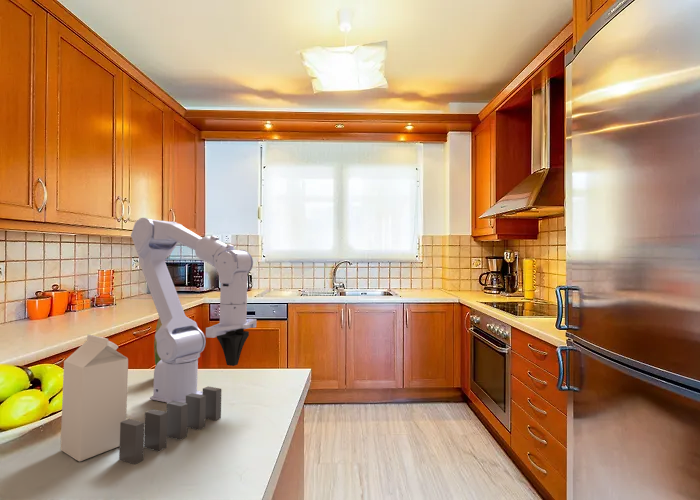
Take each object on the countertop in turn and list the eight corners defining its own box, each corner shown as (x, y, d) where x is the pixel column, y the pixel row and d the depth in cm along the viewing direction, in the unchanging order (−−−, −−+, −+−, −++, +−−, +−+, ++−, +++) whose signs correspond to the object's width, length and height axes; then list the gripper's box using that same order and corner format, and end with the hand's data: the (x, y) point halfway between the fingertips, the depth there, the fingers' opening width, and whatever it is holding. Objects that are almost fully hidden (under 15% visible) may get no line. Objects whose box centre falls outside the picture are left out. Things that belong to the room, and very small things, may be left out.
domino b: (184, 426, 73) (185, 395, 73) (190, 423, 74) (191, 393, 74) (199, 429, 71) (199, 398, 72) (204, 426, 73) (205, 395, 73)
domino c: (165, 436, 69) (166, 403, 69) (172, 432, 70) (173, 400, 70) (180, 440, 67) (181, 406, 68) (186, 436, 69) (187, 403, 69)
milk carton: (79, 463, 59) (83, 342, 60) (59, 450, 63) (64, 337, 64) (125, 444, 65) (129, 335, 66) (105, 434, 69) (109, 331, 70)
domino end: (119, 459, 60) (120, 422, 61) (127, 455, 62) (129, 418, 62) (134, 464, 59) (136, 426, 59) (143, 460, 60) (144, 422, 61)
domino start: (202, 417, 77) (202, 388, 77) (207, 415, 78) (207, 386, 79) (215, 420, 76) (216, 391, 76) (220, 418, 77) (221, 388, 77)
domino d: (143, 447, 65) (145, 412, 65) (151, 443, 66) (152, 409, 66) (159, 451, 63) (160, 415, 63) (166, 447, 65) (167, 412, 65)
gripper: (225, 307, 75) (223, 375, 75) (267, 301, 89) (266, 359, 88) (198, 305, 78) (196, 371, 77) (243, 300, 91) (242, 355, 91)
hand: (232, 364), depth 83 cm, fingers closed
